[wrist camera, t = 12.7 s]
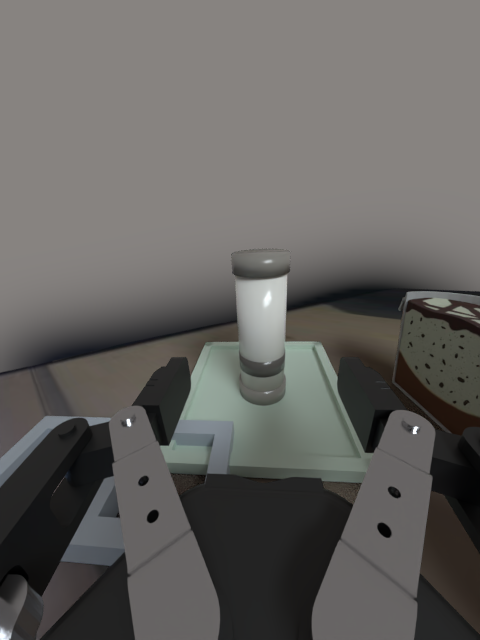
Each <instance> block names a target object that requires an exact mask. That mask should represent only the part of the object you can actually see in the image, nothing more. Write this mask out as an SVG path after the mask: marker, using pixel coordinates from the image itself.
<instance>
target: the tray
mask: <svg viewBox="0 0 480 640" xmlns="http://www.w3.org/2000/svg"><path fill="white" fill-rule="evenodd" d="M240 373H241V370H240V361H239V342H206V343H205V346H204V348H203V350H202V352H201V355H200V357H199V359H198V362H197V364H196V366H195V368H194V371H193V373H192V375H191V390H190V394H189V396H188V399H187V401H186V404H185V406H184V409H183V411H182V414H181V416H180V419H179V420H206V421H233V424H234V440H233V448H232V453H231V455H230V463H229V469H230V474H234V475H237V476H240V477H252V478H272V479H286V478H290V477H306V478H321V479H322V481H331V482H350V483H362V482H363V479H364V477H365V474H366V472H367V469H368V466H369V464H370V461H371V459H372V456H373V454H374V453H365V452H364V450H363V447H362V445H361V443H360V441H359V438H358V436H357V434H356V432H355V430H354V427H353V425H352V423H351V421H350V418H349V416H348V414H347V412H346V410H345V407H344V405H343V403H342V401H341V398H340V396H339V394H338V390H337V380H338V377H337V375H336V373H335V371H334V369H333V367H332V365H331V363H330V361H329V358H328V356H327V354H326V352H325V350H324V348H323V346H322V344H321V342H285V367H284V374H285V376H286V391H285V395H284V397H283V398H282V399H281V400H280V401H279V402H277V403H275V404H272V405H267V406H260V405H255V404H252V403H249V402H247V401H246V400H245V399H244V398H243V397H242V396H241V394H240V385H239V376H240ZM160 448H161V451H162V453H163V456H164V459H165V461H166V464H167V467H168V469H169V472H170V473H174V474H193V475H206V474H207V469H208V465H209V460H210V455H211V450H212V447H211V446H185V445H176V440H171V442H170V444H169V446H160Z"/></svg>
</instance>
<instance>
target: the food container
mask: <svg viewBox="0 0 480 640" xmlns="http://www.w3.org/2000/svg"><path fill="white" fill-rule="evenodd" d="M398 310H399V311H401V310H403V315H402V321H401V327H400V334H399V340H398V346H397V353H396V359H395V365H394V372H393V378H392V383H393V384H394V385H395V386H396V387H398V388H399V389H400V390H401V391H402V392H403V393H404V394H405V395H406V396H407V397H408V398H409V399H411V400H412V401H413V402H414V403H415V404H416V405H417V406H418V407H419V408H420V409H421V410H422V411H424V412H425V413H426V414H427V415H428V416H429V417H430V418H431V419H432V420H433V421H434V422H435V423H437V424H438V425H439V426H440V427H441V428H442V429H443V430H444V431H445V432H448V433H452V434H456V435H460V436H462V434H463V431H464V430H465V429H466V428H468V427H480V296H474V295H466V294H457V293H447V292H427V291H422V292H407V293H406V297H404V298H403V299H402V302H401V304H400V307H399V309H398Z"/></svg>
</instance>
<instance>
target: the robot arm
mask: <svg viewBox="0 0 480 640" xmlns="http://www.w3.org/2000/svg"><path fill="white" fill-rule="evenodd" d="M190 390H191V378H190V372H189V366H188V360H187V358H186V357H172V358H171V359H170V361H169V362H168V364H167V366H166V367H161V368H159V369H158V370H157V371H155V372H154V373H153V375H152V376H151V378H150V380H149V381H148V382H147V384H146V386H145V387H144V388H143V390H142V391H141V393H140V394H139V396H138V397H137V399H136V400H135V402H134V403H133V405H132V406H129V407H126V408H124V409H122V410H120V411H118V412H117V413H116V414H115V415H114V416H113V417H112V418H111V420H110V421H109V422H105V423H101V424H96V425H92V426H89V424H88V421H87V420H86V419H85V418H73V419H69V420H67V421H65V422H63V423H61V424H59V425H58V426H56V427H55V428H54V429H53V430H52V431H51V432H50V433H49V434H48V435H47V436H46V437H45V438H44V439H43V440H42V441H41V443H40V444H39V445H38V446H37V447H36V448H35V449H34V450H33V451H32V453H31V454H30V455H29V456H28V457H27V458H26V459H25V460H24V461H23V463H22V464H21V465H20V466H19V467H18V468H17V469H16V470H15V471H14V472H13V474H12V475H11V476H10V477H9V478H8V479H7V480H6V481H5V482H4V484H3V485H2V486H1V487H0V640H36V633H37V630H38V628H39V625H40V623H41V620H42V616H43V608H44V605H43V600H42V598H41V596H42V595H43V593H44V591H45V589H46V587H47V585H48V583H49V581H50V580H51V578H52V576H53V574H54V572H55V570H56V568H57V566H58V565H59V563H60V561H61V559H62V557H63V555H64V553H65V551H66V550H67V548H68V546H69V544H70V542H71V540H72V538H73V536H74V535H75V533H76V531H77V529H78V527H79V525H80V523H81V521H82V520H83V518H84V516H85V514H86V512H87V510H88V508H89V506H90V505H91V503H92V501H93V499H94V497H95V495H96V493H97V491H98V490H99V488H100V486H101V484H102V482H103V480H104V479H105V478H108V477H112V476H114V480H115V487H116V494H117V501H118V507H119V514H120V521H121V528H122V534H123V541H124V548H125V552H124V553H123V554H122V555H121V556H120V557H119V558H118V559H117V560H116V561H115V562H114V563H113V564H112V565H111V566H110V567H109V568H108V569H107V570H106V571H105V572H104V573H103V575H102V576H101V577H100V578H99V579H98V580H97V581H96V582H95V583H94V584H93V585H92V586H91V587H90V588H89V589H88V590H87V591H86V592H85V593H84V594H83V595H82V596H81V597H80V598H79V599H78V600H77V601H76V602H75V603H74V604H73V606H72V607H71V608H70V609H69V610H68V611H67V612H66V613H65V614H64V615H63V616H62V617H61V618H60V619H59V620H58V621H57V622H56V623H55V624H54V625H53V626H52V627H51V628H50V629H49V630H48V631H47V632H46V633H45V635H44V636H43V637H42V638H41V639H40V640H480V635H479V634H478V633H477V632H476V631H475V630H474V629H473V628H472V626H471V625H470V624H469V623H468V622H467V621H466V620H465V619H464V618H463V617H462V616H461V615H460V614H459V613H458V612H457V611H456V610H455V609H454V608H453V607H452V606H451V605H450V604H449V603H448V602H447V601H446V600H445V599H444V598H443V597H442V595H441V594H440V593H439V592H438V591H437V590H436V589H435V588H434V587H433V586H432V585H431V584H430V583H429V582H428V581H427V580H426V579H425V578H424V577H423V576H422V575H421V574H420V567H421V559H422V552H423V545H424V537H425V530H426V523H427V515H428V508H429V500H430V493H431V491H434V492H437V493H440V494H443V495H444V496H445V497H446V499H447V501H448V502H449V504H450V506H451V507H452V509H453V510H454V512H455V514H456V515H457V517H458V519H459V520H460V522H461V524H462V525H463V527H464V529H465V530H466V532H467V534H468V535H469V537H470V538H471V540H472V542H473V543H474V545H475V547H476V548H477V550H478V552H479V553H480V427H468V428H466V429H465V430H464V431H463V434H462V436H460V435H456V434H452V433H448V432H444V431H440V430H437V429H434V427H433V426H432V424H431V423H430V422H429V421H427V420H426V419H425V418H423V417H422V416H420V415H418V414H416V413H413V412H411V411H408V410H407V409H406V408H405V406H404V405H403V404H402V402H401V401H400V400H399V398H398V397H397V396H396V395H395V393H394V392H393V391H392V389H390V387H389V385H388V384H387V383H385V380H384V379H383V378H382V376H381V375H380V374H379V373H378V372H376V371H375V370H373V369H372V368H370V367H365V366H364V365H363V363H362V362H361V360H360V359H359V358H358V357H342V358H341V360H340V366H339V373H338V380H337V390H338V394H339V396H340V398H341V401H342V403H343V405H344V407H345V410H346V412H347V414H348V416H349V418H350V421H351V423H352V425H353V427H354V430H355V432H356V434H357V436H358V438H359V441H360V443H361V445H362V447H363V450H364V452H365V453H374V454H373V456H372V459H371V461H370V464H369V466H368V469H367V472H366V474H365V477H364V479H363V482H362V485H361V487H360V490H359V492H358V495H357V497H356V500H355V503H354V505H352V504H351V503H350V502H348V501H347V500H346V499H344V498H343V497H341V496H339V495H338V494H336V493H334V492H331V491H329V490H326V489H324V488H323V484H322V479H321V478H306V477H290V478H286V479H281V480H277V481H273V482H268V483H259V482H256V481H253V480H250V479H247V478H244V477H240V476H237V475H234V474H210V473H207V476H206V481H205V483H204V484H201V485H198V486H195V487H193V488H191V489H189V490H187V491H186V492H184V493H183V494H181V495H180V496H178V493H177V490H176V488H175V485H174V482H173V480H172V477H171V474H170V472H169V469H168V467H167V464H166V461H165V459H164V456H163V453H162V451H161V448H160V446H169V444H170V442H171V439H172V437H173V434H174V432H175V429H176V427H177V424H178V422H179V419H180V416H181V414H182V411H183V409H184V406H185V404H186V401H187V399H188V396H189V394H190ZM64 476H65V478H64V479H63V477H64ZM62 479H63V481H62V482H61V480H62ZM60 482H61V484H60V485H59V483H60ZM58 485H59V487H58V488H57V486H58ZM56 488H57V490H56V491H55V492H54V490H55V489H56ZM53 492H54V494H53ZM52 494H53V495H52ZM51 496H52V497H51Z"/></svg>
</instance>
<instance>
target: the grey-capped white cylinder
mask: <svg viewBox="0 0 480 640" xmlns="http://www.w3.org/2000/svg"><path fill="white" fill-rule="evenodd" d="M231 256H232V257H231V258H232V273H233V274H234V275H235V285H236V302H237V319H238V336H239V361H240V370H241V373H240V376H239V385H240V394H241V396H242V397H243V398H244V399H245V400H246V401H247V402H249V403H252V404H255V405H260V406H267V405H272V404H275V403H277V402H279V401H280V400H281V399H282V398H283V397H284V395H285V391H286V376H285V374H284V367H285V329H286V298H287V273H289V271H290V251H288V250H283V249H253V250H244V251H238V252H234V253H232V254H231Z"/></svg>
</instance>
